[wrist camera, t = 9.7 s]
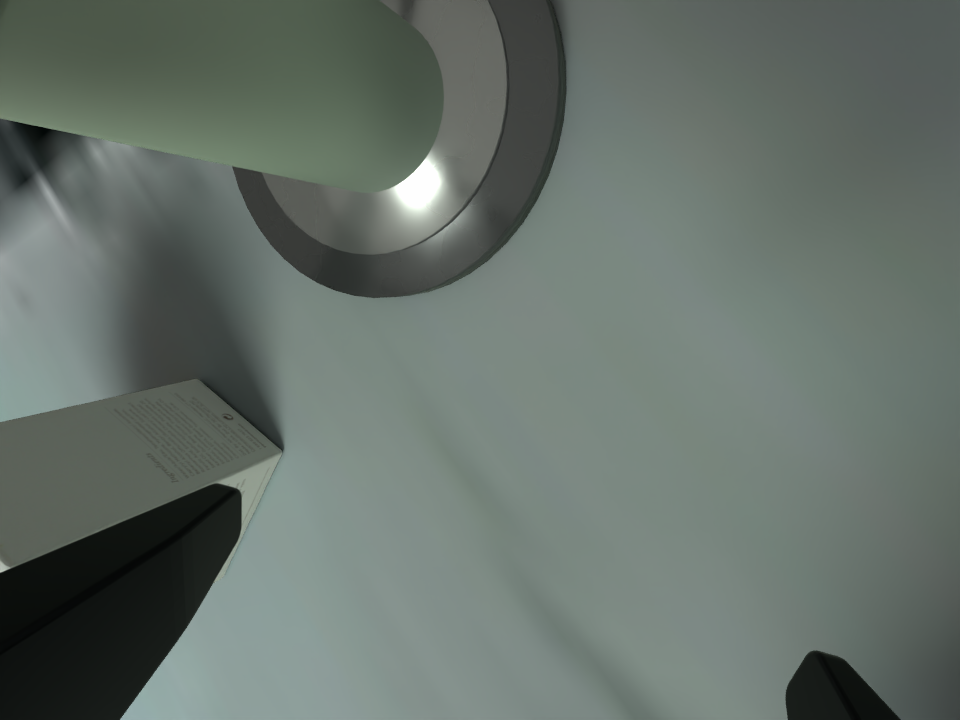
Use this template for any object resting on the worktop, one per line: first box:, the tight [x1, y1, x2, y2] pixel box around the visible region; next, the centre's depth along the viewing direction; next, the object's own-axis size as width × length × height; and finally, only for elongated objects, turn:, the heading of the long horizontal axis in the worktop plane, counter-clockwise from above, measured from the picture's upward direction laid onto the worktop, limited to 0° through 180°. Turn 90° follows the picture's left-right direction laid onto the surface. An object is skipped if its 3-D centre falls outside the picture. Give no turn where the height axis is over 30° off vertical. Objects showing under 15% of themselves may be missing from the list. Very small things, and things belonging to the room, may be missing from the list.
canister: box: [0, 0, 444, 193], centre depth 13 cm, size 6×6×13 cm
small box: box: [0, 379, 282, 583], centre depth 22 cm, size 8×6×10 cm
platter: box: [232, 0, 566, 298], centre depth 20 cm, size 13×13×1 cm
